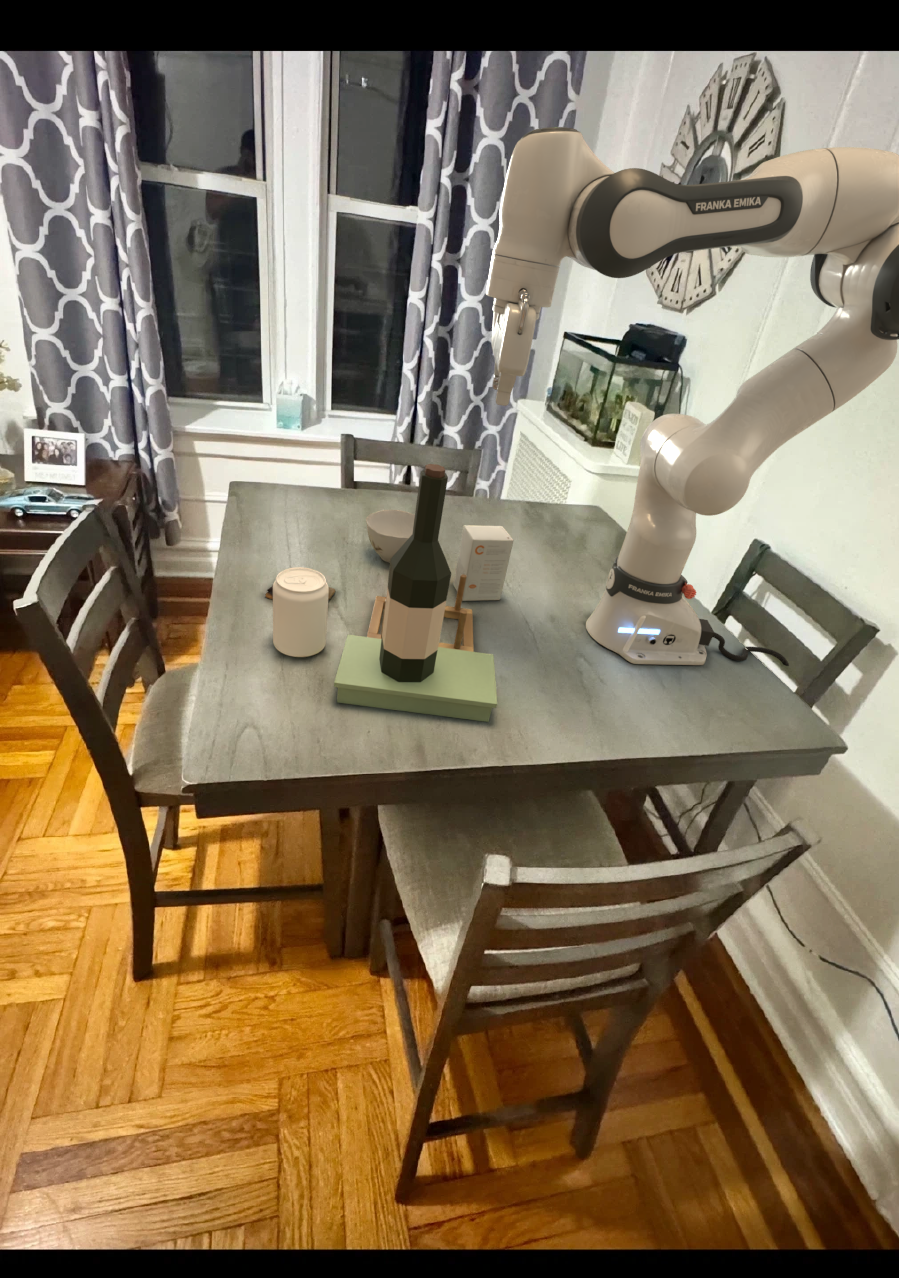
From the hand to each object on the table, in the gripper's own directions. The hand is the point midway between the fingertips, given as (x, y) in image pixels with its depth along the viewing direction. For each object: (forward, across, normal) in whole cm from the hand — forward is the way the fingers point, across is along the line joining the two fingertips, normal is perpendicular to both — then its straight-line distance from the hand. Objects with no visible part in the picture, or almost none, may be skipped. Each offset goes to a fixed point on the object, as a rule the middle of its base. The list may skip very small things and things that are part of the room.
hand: (499, 396), depth 86 cm
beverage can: (+39, -13, +25) cm, 48 cm away
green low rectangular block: (+39, -20, +6) cm, 44 cm away
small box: (+39, +12, -4) cm, 41 cm away
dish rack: (+39, -4, +6) cm, 40 cm away
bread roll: (+39, +2, +28) cm, 48 cm away
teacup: (+39, +22, +12) cm, 47 cm away
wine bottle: (+35, -20, +8) cm, 41 cm away
